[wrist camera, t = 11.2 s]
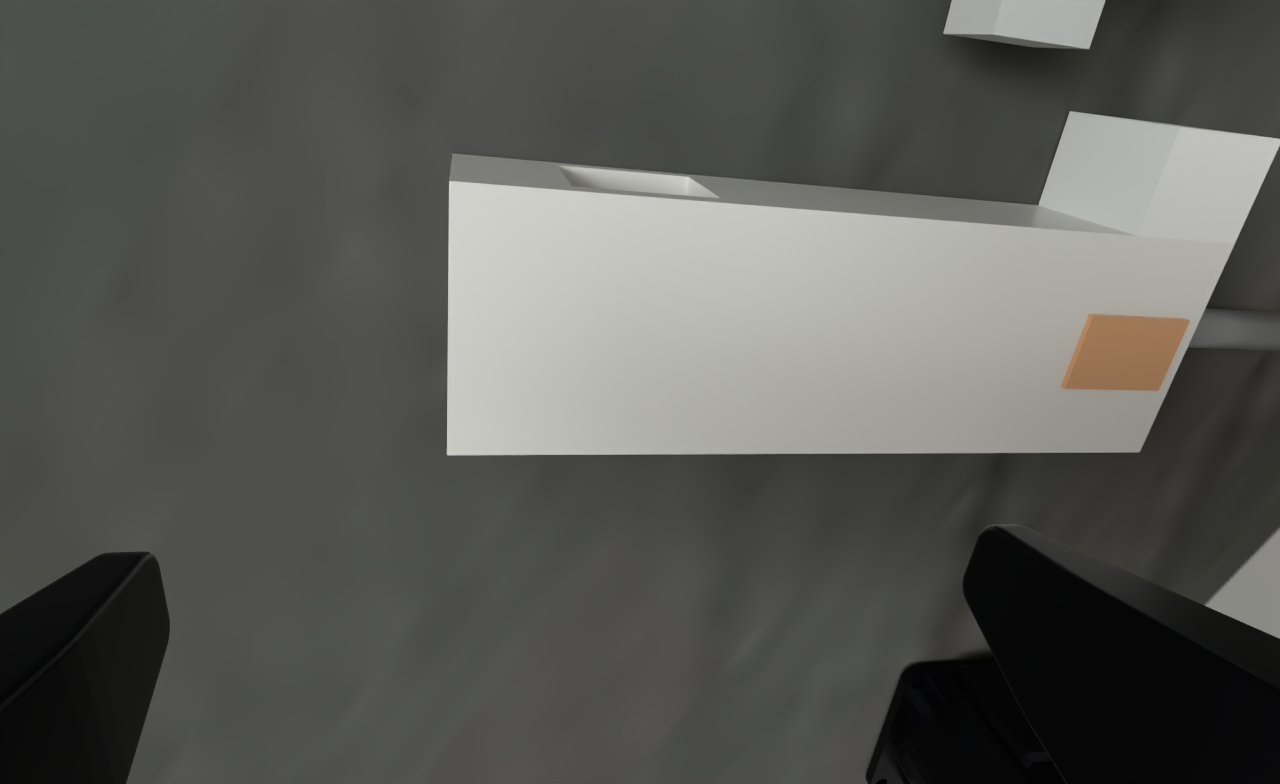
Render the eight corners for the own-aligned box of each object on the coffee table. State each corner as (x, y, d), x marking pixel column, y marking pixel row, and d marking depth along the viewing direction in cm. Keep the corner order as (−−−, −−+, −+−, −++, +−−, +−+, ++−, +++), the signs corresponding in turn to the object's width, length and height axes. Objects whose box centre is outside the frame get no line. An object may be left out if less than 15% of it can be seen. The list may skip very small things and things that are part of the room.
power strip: (1200, 400, 26) (1305, 454, 22) (449, 388, 20) (446, 458, 16) (1324, 143, 22) (1470, 162, 19) (453, 33, 16) (450, 35, 13)
